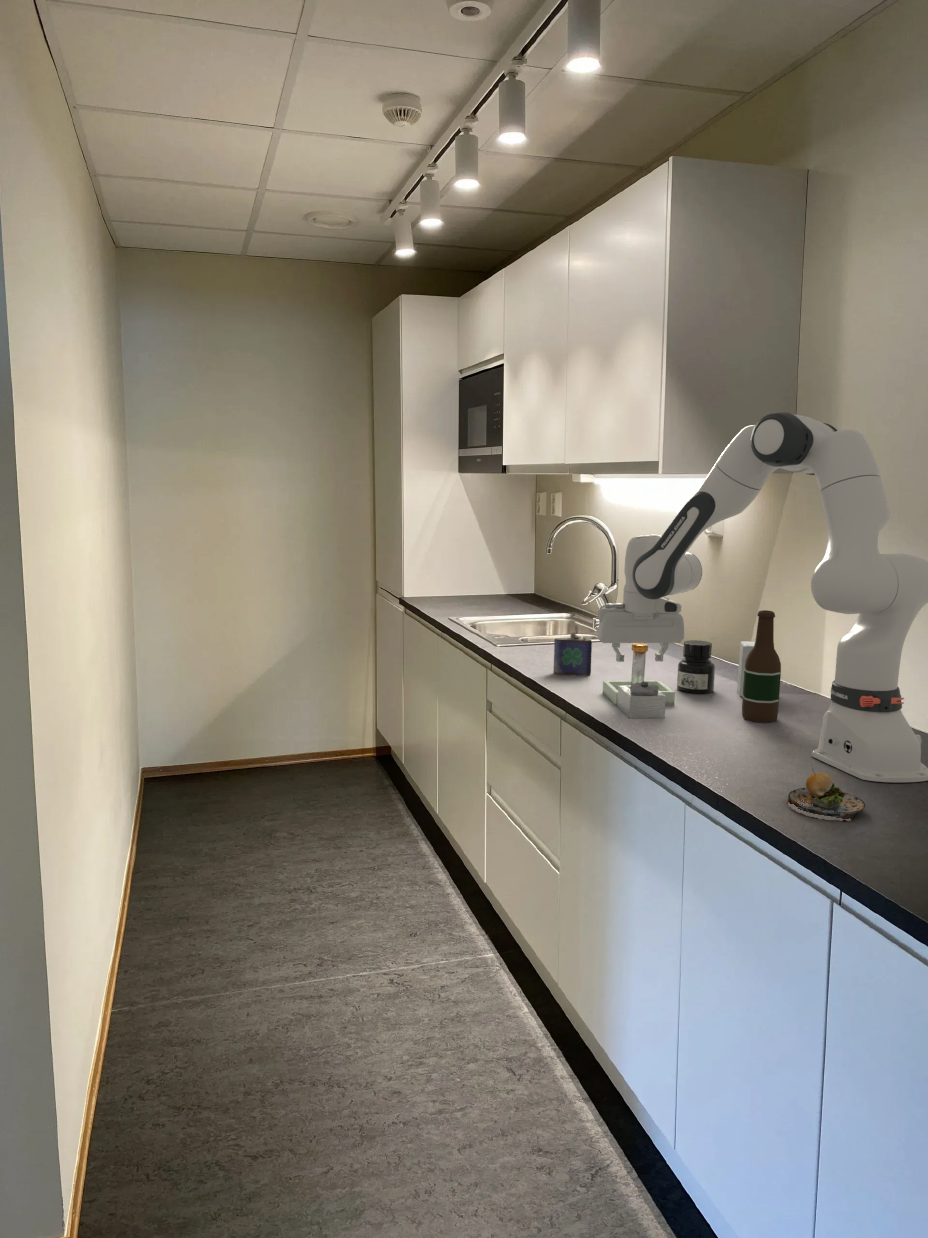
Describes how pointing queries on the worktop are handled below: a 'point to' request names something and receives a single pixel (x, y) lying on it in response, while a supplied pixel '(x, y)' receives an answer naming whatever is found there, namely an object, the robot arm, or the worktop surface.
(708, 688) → the ink bottle
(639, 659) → the pin
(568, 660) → the flask
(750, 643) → the supplement box
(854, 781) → the worktop surface
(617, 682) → the tray
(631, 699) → the block
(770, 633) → the beer bottle
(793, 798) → the burger
